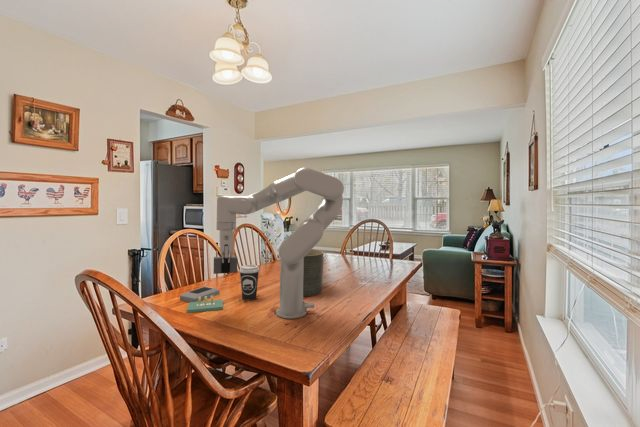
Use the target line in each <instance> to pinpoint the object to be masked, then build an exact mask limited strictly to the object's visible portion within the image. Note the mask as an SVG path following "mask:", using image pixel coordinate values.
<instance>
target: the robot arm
mask: <svg viewBox="0 0 640 427" xmlns="http://www.w3.org/2000/svg"><path fill="white" fill-rule="evenodd" d="M306 191H307V192H310V193H312V194H315V195H317V196H319V197H322V201H321V202H320V204H319V205H318V206H317V207H316V208H315V209H314V210H313V211H312V212H311V213H310V214H309V216H307V217H306V218H305V219H304V220H302V221H301V223H300V224H299V225H298V226H297V228H296V229H295V230H294V231H293V232H292V233H291V234H290V235H289V236H288V237H285V239H283V240H282V241H281V244H280V246H279V248H278V256H279V259H280V263H279V264H280V266H279V268H280V270H279V307H278V308H277V309H276V311H275V314H276V315H277V317H279V318H281V319H290V320H291V319H292V320H293V319H299V318H303V317H305V316H306V315H307V314H308V313H307V312H308V309H312V308H313V309H315V303H314V302H310V301H306V302H305V301H304V297H303V275H304V257H305V256H306V255H307V253H308V252H309V251H310V250H311V249H314V247H316V246H317V245H318V243H319V242H320V241H321V240H322V237H323V235H324V231H325V230H326V229H327V228H328V227H329V226H330V225H331V223H333V221H335V219H337V217H338V215H339V214H340V212H341V211H342V207H343V200H344V199H343V194H344V191H345V187H344V183H343V182H342V181H341V180H340V179H339V178H337V177H335V176H332V175H329V174H326V173H324V172H320V171H317V170H315V169H312V168H310V167H306V166H305V167H301V168H299V169H297V170H296V172H293V173H291V174H289V175H287V176H284V177H282V178H279V179H277V180H275V181H273V182H271V183H270V184H269V185H267V186H266V187H265V188H263V189H261V190H259V191H257V192H253V193H252V194H250V195H240V196H239V195H237V196H234V195H219V196H217V199H216V231H219V253H220V255H221V257H222V266H221V272H222V273H221V274H230V273H229V272H230V263H229V262H230V256H233V255H234V240H235V239H234V231H237V214H238V215H244V216H246V215H251V214H253V213H254V214H255V213H256V212H258V211H261V210H263V209H265V208H267V207H270V206H272V205H274V204H275V205H276V204H279V203H281V202H283V201H285V200H288V199H290V198H293V197H294V196H297V195H300V194H302V193H304V192H306Z"/></svg>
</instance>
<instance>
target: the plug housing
mask: <svg viewBox="0 0 640 427" xmlns="http://www.w3.org/2000/svg"><path fill="white" fill-rule="evenodd" d="M229 263H230V272H229V273H228V274H237V273H238V256H237V255H235V256H233V255H230V262H229ZM221 266H222V256H213V274H214V275H217V274H218V275H220V274H223V273H222V272H221Z"/></svg>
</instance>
